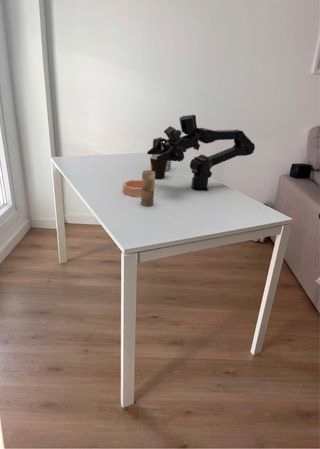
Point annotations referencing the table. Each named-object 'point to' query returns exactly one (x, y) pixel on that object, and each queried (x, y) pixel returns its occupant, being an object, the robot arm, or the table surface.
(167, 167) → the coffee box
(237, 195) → the table surface
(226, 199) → the table surface
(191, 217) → the table surface
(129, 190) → the terracotta dish
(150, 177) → the walnut peg
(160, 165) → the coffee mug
